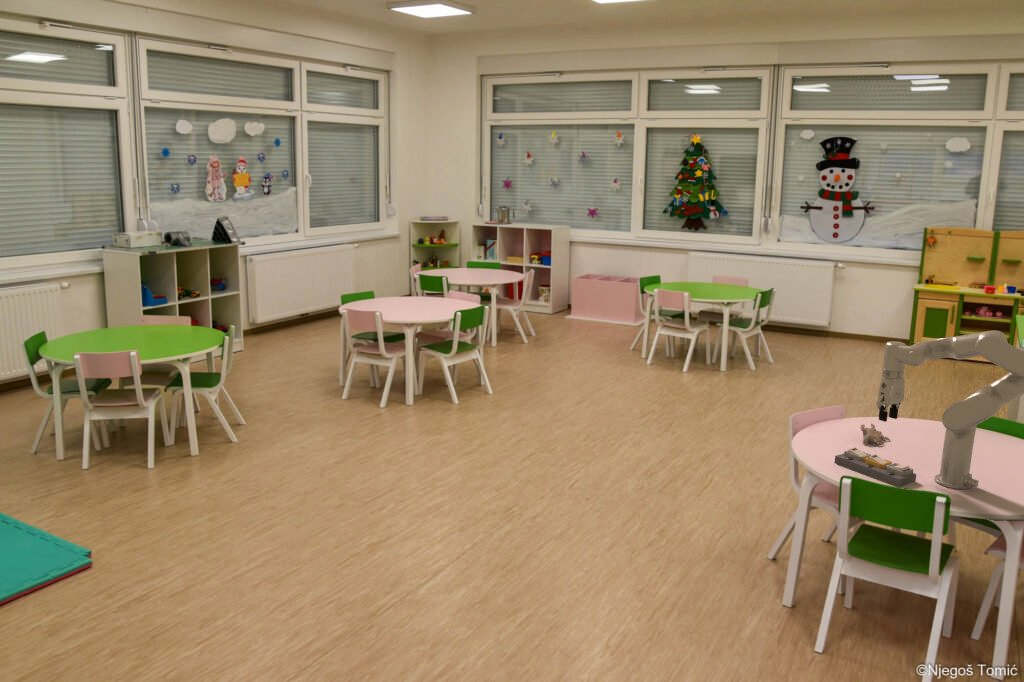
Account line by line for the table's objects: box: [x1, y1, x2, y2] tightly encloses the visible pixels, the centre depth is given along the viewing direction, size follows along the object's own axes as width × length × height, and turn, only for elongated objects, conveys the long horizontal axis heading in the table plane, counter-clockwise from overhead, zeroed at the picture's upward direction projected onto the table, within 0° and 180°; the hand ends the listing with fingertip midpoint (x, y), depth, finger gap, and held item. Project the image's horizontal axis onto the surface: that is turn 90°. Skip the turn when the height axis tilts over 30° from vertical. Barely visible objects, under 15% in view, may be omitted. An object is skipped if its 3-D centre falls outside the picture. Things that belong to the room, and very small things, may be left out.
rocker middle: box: [869, 454, 887, 464], centre depth 321 cm, size 6×4×1 cm
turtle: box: [860, 423, 891, 446], centre depth 355 cm, size 16×10×10 cm, turn 155°
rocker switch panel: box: [834, 449, 917, 488], centre depth 321 cm, size 28×10×4 cm, turn 32°
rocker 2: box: [890, 464, 911, 471], centre depth 314 cm, size 6×4×1 cm
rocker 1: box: [848, 447, 867, 456], centre depth 329 cm, size 6×4×1 cm
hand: (887, 418), depth 322 cm, fingers open, 5 cm apart
